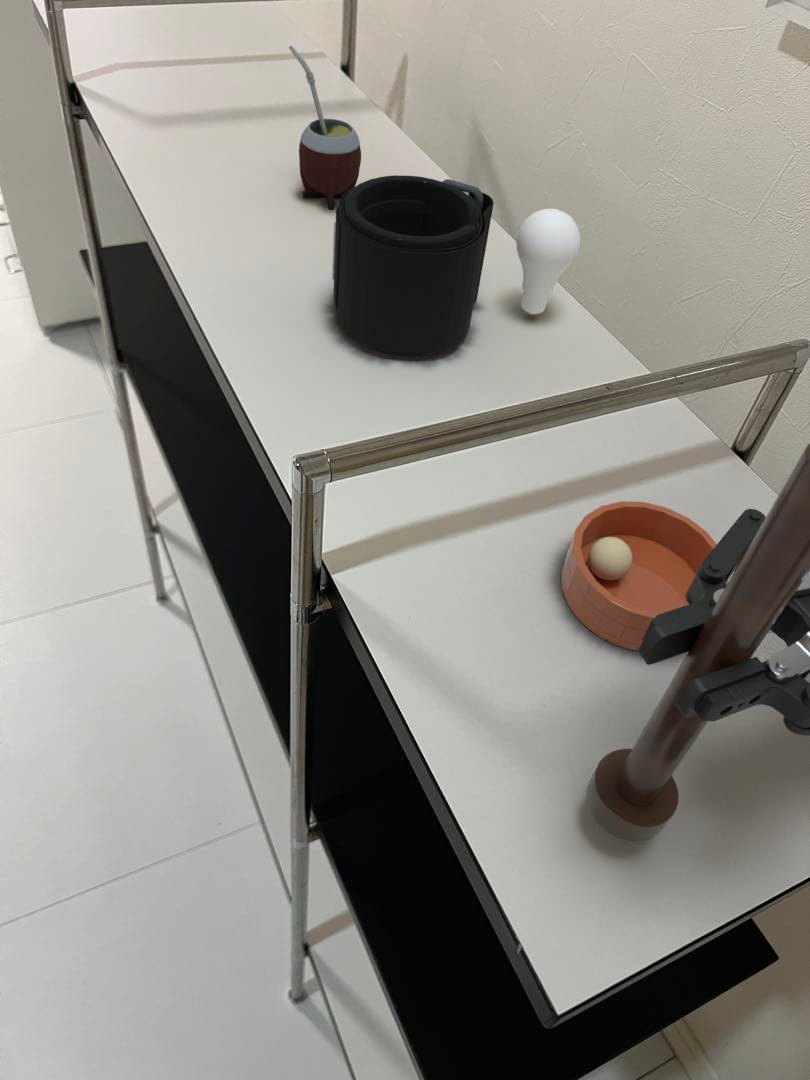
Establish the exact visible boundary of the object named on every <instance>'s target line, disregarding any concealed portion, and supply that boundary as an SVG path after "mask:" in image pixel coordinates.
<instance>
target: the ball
mask: <svg viewBox="0 0 810 1080" xmlns="http://www.w3.org/2000/svg"><path fill="white" fill-rule="evenodd" d="M588 563H589V566H590V569H591V570H592V572H593V573H594V574H595V575H596V576H598V577H600V578H602V579H605V580H616V579H619V578H621V577H623V576H624V575H625V574H626V573H627V572H628V571H629V569H630V567H631V564H632V553H631V550H630V548H629V547H628V545H627V544H626V543H625V542H624V541H622V540H620V539H618V538H615V537H605V538H602V539H600V540H598V541H596V542H595V543H594V544H593V545H592V547H591V548H590V550H589V554H588Z"/></svg>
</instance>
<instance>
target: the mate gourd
mask: <svg viewBox="0 0 810 1080" xmlns="http://www.w3.org/2000/svg"><path fill="white" fill-rule="evenodd" d="M288 49H289V50H290V52H291V53H292V54H293V56H294V57H295V58H296V60H297V61H298V62H299V64H300V65H301V67H302V69H303V70H304V72H305V78H306V82H307V83H308V84H309V87H310V88H309V89H310V91H311V95H312V99H313V102H314V107H315V111H316V114H317V118H318V119H315V120H313V121H311V122H309V124H307V126H306V127H305V129H304V130H303V131H302V134H301V136H300V140H299V145H298V158H299V159H298V160H299V163H298V164H299V166H298V167H299V175H300V179H301V182H302V185H303V189H304V190H302V191H301V193H302V199H324V200H325V201H326V207H327V210H333V211H334V210H335V208H336V206H335V205H336V204H335V200H337V199H339V200H340V199H341V197H342V195H343V194H344V193H346V192H347V191H349V190H350V189H351V188H354V187H356V186H357V182H358V180H359V175H360V168H361V162H362V149H361V142H360V138H359V136H358V133H357V131H356V130H355V128H354V126H352V125H351V124H350V123H349V122H346V121H344V120H340V119H334V118H324V116H323V115H324V114H323V112H322V108H321V104H320V99H319V96H318V92H317V86H316V83H315V82H316V79H315V76H314V73H313V71H311V69H310V67H309V65H308V64H307V62H306V60H305V59H304V58H303V57H302V56H301V54H300V53H299V52H298V51H297V50H296V49H295V48H294V46H293V45H289V47H288Z"/></svg>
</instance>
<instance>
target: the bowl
mask: <svg viewBox="0 0 810 1080" xmlns="http://www.w3.org/2000/svg"><path fill="white" fill-rule="evenodd" d="M605 537H615V538H618V539H620V540H622V541H624V542H625V543H626V544H627V545H628V547H629V548H630V550H631V553H632V564H631V567H630V569H629V571H628V572H627V573H626V574H625V575H624V576H623V577H621V578H619V579H616V580H605V579H602V578H600V577H598V576H596V575H595V574H594V573H593V572H592V570H591V569H590V566H589V563H588V554H589V550H590V548H591V547H592V545H593V544H594V543H595V542H596V541H598V540H600V539H602V538H605ZM717 544H718V543H717V542H716V541H715V540H714V539H713V538H712V536H711V535H710V534H709V533H708V531H706V530H705V529H704V528H702V527H701V526H700V525H699V524H697V522H695V521H694V520H692V519H691V518H689V517H688V516H685V515H683V514H681V513H679V512H677V511H675V510H673V509H671V508H669V507H666V506H662V505H658V504H654V503H649V502H647V501H629V500H627V501H626V500H624V501H623V500H621V501H617V502H612V503H608V504H604V505H600V506H599V507H597V508H596V509H594V510H592V511H591V512H588V513H587V514H586V515H585V516H584V517H583V519H581V521H580V523H579V524H578V526H576V528H575V530H574V533H573V536H572V539H571V541H570V544H569V547H568V550H567V552H566V555H565V559H564V564H563V566H562V571H561V578H560V579H561V580H560V582H561V589H562V592H563V596H564V599H565V601H566V603H567V605H568V607H569V609H570V610H571V612H572V613H573V614H574V616H575V617H576V618H577V619H578V621H580V623H582V625H584V627H586V628H587V629H588V630H589V631H591V633H593V634H595V635H596V636H598V637H599V638H601V639H603V640H604V641H606V642H608V643H610V644H613V645H615V646H617V647H619V648H623V649H627V650H630V651H636V652H638V650H639V648H640V646H641V644H642V642H643V637H644V635H645V633H646V631H647V629H648V627H649V625H650V623H651V621H652V620H653V619H654V618H655V617H656V616H657V615H658V614H661V613H664V612H669V611H671V610H674V609H677V608H680V607H683V606H686V605H689V603H688V602H687V600H686V598H685V595H686V592H687V591H688V589H689V587H690V585H691V583H692V581H693V579H694V577H695V575H696V574H697V572H698V570H699V568H700V566H701V564H702V562H703V561H704V560H705V558H706V557H707V556H708V555H709V553H710V552H711V551H712V550H713V549H714V547H715V546H716V545H717ZM728 582H729V579H728V580H727V582H726V585H727V584H728Z"/></svg>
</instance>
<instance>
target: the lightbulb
mask: <svg viewBox="0 0 810 1080" xmlns="http://www.w3.org/2000/svg"><path fill="white" fill-rule="evenodd" d="M515 243H516V251H517V256H518V259H519V262H520V264H521V267H522V285H521V288H522V290H523V291H522V297H521V302H520V306H521V308H522V310H523V311H525V312H526V313H527V314H528V315H531V316H532V315H533V316H534V315H538V314H539V315H540V314H542V313H543V312H544V311H545V310H546V307H547V304H548V301H549V298H550V296H551V295H552V294H553V291H554V288H555V286H556V283H557V281H558V280H559V278H560V277H561V275H562V274H563V273H564V272H565V271H566V270H567V269H568V268H569V267H570V266H571V265H572V264H573V262H575V259H576V257H577V255H578V254H579V251H580V246H581V234H580V230H579V226H578V224H577V223H576V221H575V220H574V219H573V218H572V217H571V216H570V215H569V214H568V213H567V212H564V211H563V210H560V209H557V208H543V209H539V210H537V211H534V212H533V213H531V214H530V215H529V216H528V217H526V219H525V220H524V221H523V223H522V224H521V226H520V227H519V230H518V232H517V236H516V242H515Z"/></svg>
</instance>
